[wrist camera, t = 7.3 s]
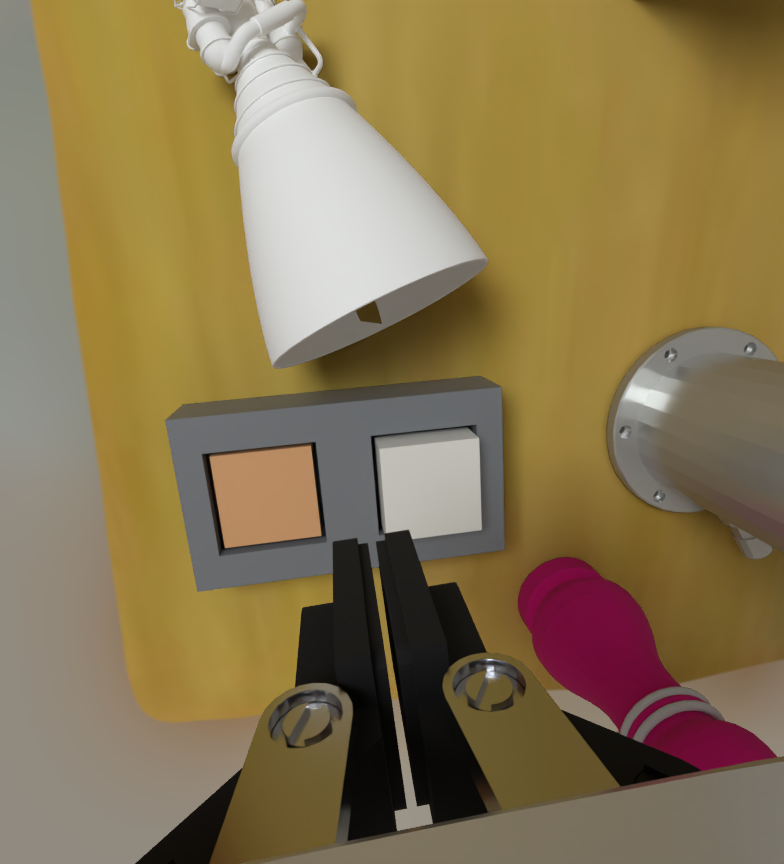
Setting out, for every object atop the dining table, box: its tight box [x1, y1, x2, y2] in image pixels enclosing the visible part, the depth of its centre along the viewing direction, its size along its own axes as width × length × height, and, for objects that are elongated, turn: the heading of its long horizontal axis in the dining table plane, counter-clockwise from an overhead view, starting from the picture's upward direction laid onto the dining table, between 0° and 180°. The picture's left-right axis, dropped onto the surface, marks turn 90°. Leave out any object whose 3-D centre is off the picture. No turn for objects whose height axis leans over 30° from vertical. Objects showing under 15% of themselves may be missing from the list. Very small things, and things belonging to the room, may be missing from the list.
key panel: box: [165, 376, 505, 592], centre depth 32 cm, size 18×10×4 cm, turn 94°
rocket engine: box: [174, 0, 489, 369], centre depth 26 cm, size 12×12×18 cm
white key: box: [374, 427, 482, 539], centre depth 30 cm, size 5×5×2 cm
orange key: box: [210, 442, 321, 548], centre depth 31 cm, size 5×5×2 cm
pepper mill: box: [518, 557, 777, 771], centre depth 29 cm, size 7×7×20 cm
